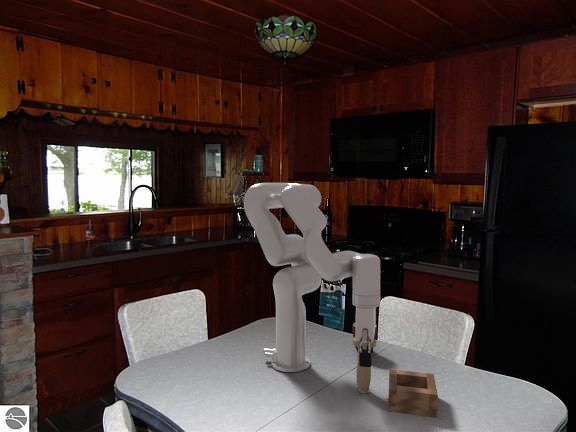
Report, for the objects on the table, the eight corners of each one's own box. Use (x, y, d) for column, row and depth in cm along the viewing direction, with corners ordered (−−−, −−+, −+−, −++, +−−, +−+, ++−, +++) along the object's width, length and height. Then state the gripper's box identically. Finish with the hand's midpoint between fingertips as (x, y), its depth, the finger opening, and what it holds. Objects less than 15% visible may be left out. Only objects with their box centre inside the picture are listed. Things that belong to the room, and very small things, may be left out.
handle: (374, 397, 121) (375, 344, 120) (350, 393, 123) (351, 341, 121) (375, 388, 126) (376, 338, 124) (353, 385, 127) (354, 335, 126)
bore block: (388, 411, 114) (388, 388, 113) (388, 389, 125) (389, 369, 125) (436, 417, 111) (437, 394, 110) (432, 394, 123) (433, 374, 122)
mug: (348, 346, 157) (349, 318, 156) (371, 346, 157) (372, 318, 156) (354, 358, 146) (355, 329, 145) (378, 358, 147) (379, 329, 146)
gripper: (355, 291, 131) (355, 347, 132) (349, 307, 114) (349, 371, 115) (381, 292, 129) (381, 349, 130) (379, 308, 112) (379, 373, 113)
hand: (366, 359), depth 123 cm, fingers open, 9 cm apart
